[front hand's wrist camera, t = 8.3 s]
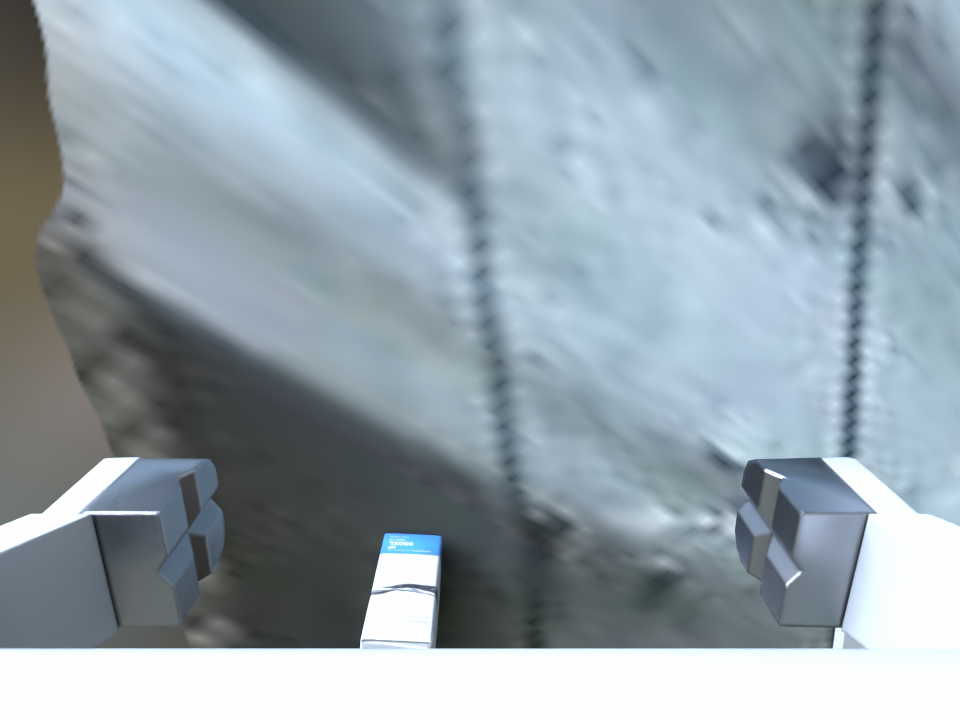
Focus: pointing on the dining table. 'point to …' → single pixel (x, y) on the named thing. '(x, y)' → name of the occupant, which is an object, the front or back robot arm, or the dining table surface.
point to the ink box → (405, 594)
